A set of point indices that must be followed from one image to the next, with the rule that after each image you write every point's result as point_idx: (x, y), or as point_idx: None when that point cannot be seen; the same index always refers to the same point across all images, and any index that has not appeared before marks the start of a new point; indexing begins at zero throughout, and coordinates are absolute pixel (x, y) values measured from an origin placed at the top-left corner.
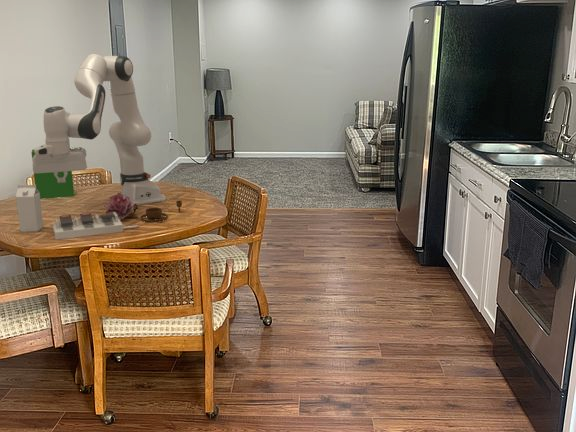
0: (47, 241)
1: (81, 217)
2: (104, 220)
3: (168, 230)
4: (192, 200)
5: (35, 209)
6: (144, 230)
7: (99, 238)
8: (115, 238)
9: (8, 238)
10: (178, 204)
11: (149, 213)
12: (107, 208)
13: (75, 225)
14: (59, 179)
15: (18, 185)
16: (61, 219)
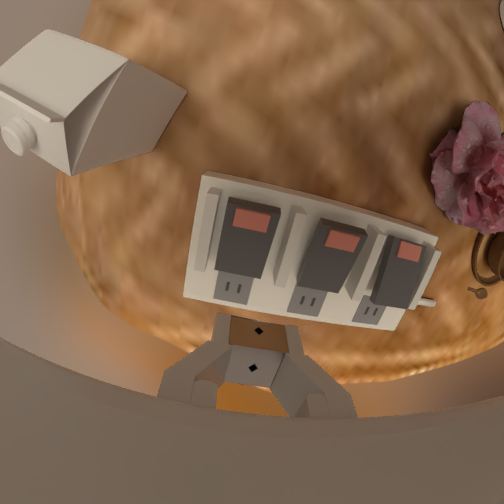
0: (162, 283)
1: (311, 256)
2: None
3: (446, 352)
4: None
5: (113, 161)
6: (423, 331)
7: (305, 338)
8: (337, 356)
9: (65, 180)
10: None
11: (495, 269)
12: (453, 169)
13: (274, 256)
14: (226, 375)
15: None
16: (226, 237)
